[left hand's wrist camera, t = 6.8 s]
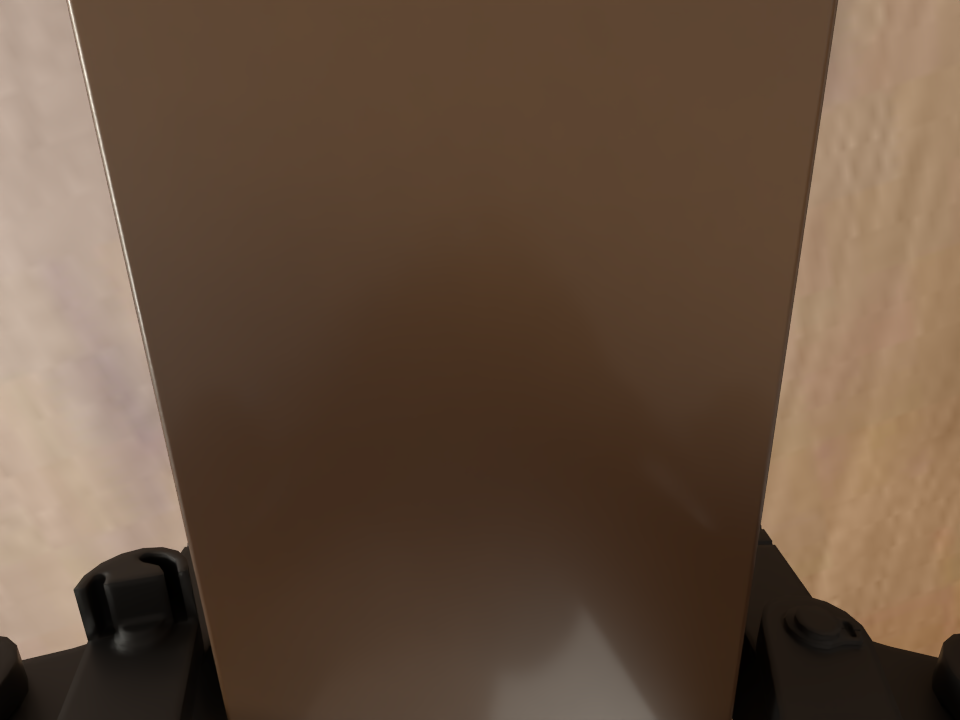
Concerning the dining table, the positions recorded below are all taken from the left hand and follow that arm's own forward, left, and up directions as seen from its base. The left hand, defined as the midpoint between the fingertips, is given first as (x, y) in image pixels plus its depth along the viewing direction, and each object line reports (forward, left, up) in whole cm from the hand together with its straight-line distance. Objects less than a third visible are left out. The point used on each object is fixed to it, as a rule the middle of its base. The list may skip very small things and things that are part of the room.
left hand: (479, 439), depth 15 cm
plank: (+16, +3, -1) cm, 16 cm away
